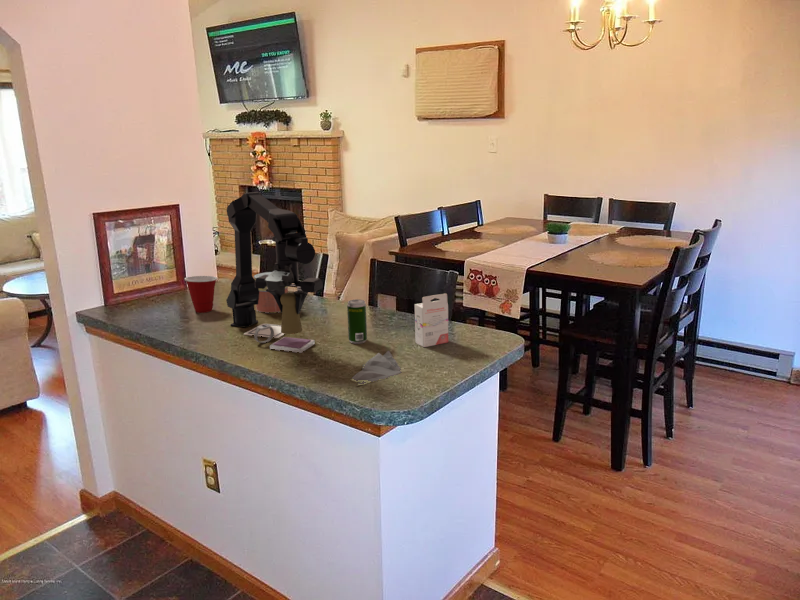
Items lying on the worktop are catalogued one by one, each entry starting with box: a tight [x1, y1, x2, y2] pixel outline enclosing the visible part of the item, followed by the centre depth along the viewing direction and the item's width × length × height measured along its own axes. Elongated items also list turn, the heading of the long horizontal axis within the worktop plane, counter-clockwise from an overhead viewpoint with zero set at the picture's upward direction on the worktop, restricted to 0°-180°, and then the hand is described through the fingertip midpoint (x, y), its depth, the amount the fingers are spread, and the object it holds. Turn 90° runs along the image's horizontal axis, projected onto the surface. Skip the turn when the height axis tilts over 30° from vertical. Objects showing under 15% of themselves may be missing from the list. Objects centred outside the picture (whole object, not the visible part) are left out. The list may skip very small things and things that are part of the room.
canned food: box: [253, 271, 289, 314], centre depth 218 cm, size 11×11×12 cm
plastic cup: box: [184, 275, 218, 314], centre depth 217 cm, size 11×11×12 cm
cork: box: [280, 292, 303, 335], centre depth 177 cm, size 6×6×11 cm
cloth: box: [351, 350, 402, 384], centre depth 161 cm, size 26×14×2 cm, turn 151°
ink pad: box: [269, 336, 316, 354], centre depth 179 cm, size 10×8×2 cm
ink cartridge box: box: [414, 292, 449, 348], centre depth 179 cm, size 9×5×15 cm, turn 118°
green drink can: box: [346, 298, 368, 345], centre depth 181 cm, size 5×5×12 cm
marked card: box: [243, 323, 284, 339], centre depth 194 cm, size 12×11×1 cm
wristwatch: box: [253, 323, 274, 344], centre depth 183 cm, size 6×3×5 cm, turn 137°
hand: (290, 313), depth 177 cm, fingers closed on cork, 5 cm apart
